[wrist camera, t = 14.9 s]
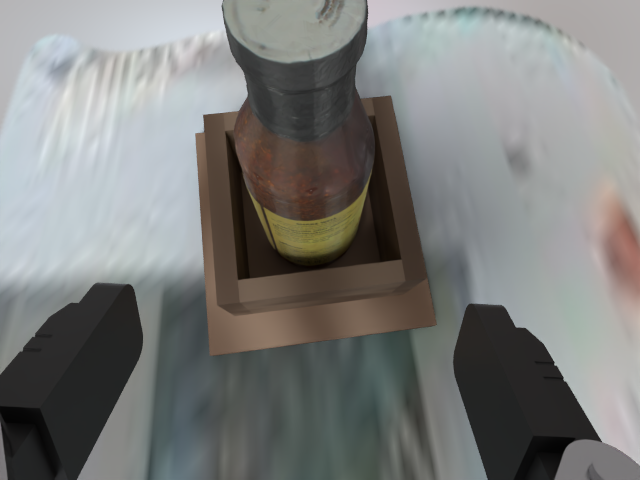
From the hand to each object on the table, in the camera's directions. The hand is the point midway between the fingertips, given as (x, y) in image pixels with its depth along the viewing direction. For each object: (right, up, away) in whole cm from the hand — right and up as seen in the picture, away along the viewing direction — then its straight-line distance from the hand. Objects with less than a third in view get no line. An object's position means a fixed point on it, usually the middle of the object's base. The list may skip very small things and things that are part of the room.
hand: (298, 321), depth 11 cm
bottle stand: (0, +3, +21) cm, 22 cm away
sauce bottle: (0, +3, +20) cm, 21 cm away
